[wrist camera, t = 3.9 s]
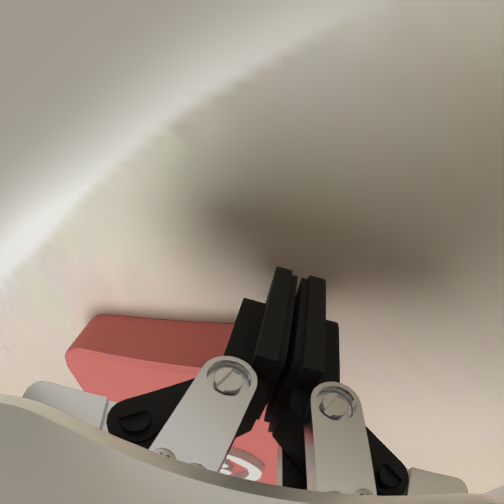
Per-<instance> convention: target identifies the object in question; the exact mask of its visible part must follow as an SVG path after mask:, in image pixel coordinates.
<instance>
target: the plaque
mask: <svg viewBox="0 0 504 504" xmlns="http://www.w3.org/2000/svg"><path fill="white" fill-rule="evenodd" d="M233 327H234V324H232V323H210V322H192V321H177V320H163V319H150V318H139V317H128V316H118V315H108V314H105V315H97V316H96V317H95V318H93V319H92V320H91V321H90V322H89V323H88V325H87V326H86V327H85V328H84V330H83V331H82V332H81V333H80V335H79V336H78V337H77V338H76V340H75V341H74V342H73V344H72V345H71V346H70V347H69V349H68V350H67V352H66V354H65V359H66V363H67V366H68V368H69V369H70V371H71V372H72V374H73V375H74V377H75V378H76V380H77V381H78V383H79V384H80V386H81V387H82V389H83V390H84V392H87V393H91V394H96V395H100V396H104V397H107V398H108V400H109V401H113V402H120V401H122V400H125V399H128V398H132V397H135V396H139V395H142V394H146V393H149V392H152V391H156V390H159V389H162V388H165V387H169V386H172V385H175V384H178V383H181V382H184V381H187V380H190V379H193V378H196V376H197V375H198V373H199V372H200V370H201V369H202V367H203V366H204V365H205V364H206V362H207V361H209V360H211V359H213V358H215V357H219V356H224V353H225V350H226V347H227V344H228V342H229V339H230V336H231V333H232V330H233ZM266 407H267V405H266ZM266 407H265V409H264V411H263V413H262V415H261V417H260V419H259V420H257V419H256V421H255V423H254V426H253V428H252V430H251V431H250V432H248V433H245V434H243V435H241V436H239V437H237V438H236V439H235V441H234V443H233V445H232V448H231V450H230V452H229V454H228V456H227V458H226V460H225V462H224V464H223V466H222V468H221V470H220V472H219V473H223V474H227V475H231V476H235V477H239V478H243V479H248V480H252V481H257V482H262V483H267V484H272V485H277V447H278V443H277V442H276V440H275V439H274V438H273V437H272V432H268V428H269V422H265V421H264V417H265V412H266Z"/></svg>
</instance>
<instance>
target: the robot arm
mask: <svg viewBox="0 0 504 504" xmlns="http://www.w3.org/2000/svg"><path fill="white" fill-rule="evenodd" d="M297 278H298V277H297V276H294V275H292V270H288V269H284V268H281V267H276V270H275V274H274V277H273V280H272V284H271V287H270V290H269V294H268V297H267V300H266V303H261V302H257V301H254V300H250V299H247V298H244V299H243V302H242V304H241V307H240V310H239V313H238V316H237V319H236V322H235V324H234V327H233V330H232V333H231V336H230V339H229V342H228V344H227V347H226V350H225V353H224V356H219V357H215V358H213V359H211V360H209V361H207V362H206V364H205V365H204V366H203V367H202V369H201V370H200V372H199V373H198V375H197V376H196V378H193V379H190V380H187V381H184V382H181V383H178V384H175V385H172V386H169V387H165V388H162V389H159V390H156V391H152V392H149V393H146V394H142V395H139V396H135V397H132V398H128V399H125V400H122V401H120V402H113V401H109V400H108V398H107V397H104V396H100V395H96V394H91V393H87V392H83V391H79V390H76V389H72V388H68V387H65V386H61V385H58V384H54V383H51V382H45V381H40V382H36V383H34V384H32V385H31V386H29V387H28V388H27V390H26V391H25V393H24V395H23V397H19V396H13V395H5V394H0V504H504V502H503V501H501V500H499V499H496V498H493V497H490V496H487V495H482V494H474V493H468V489H467V487H466V484H465V483H464V482H463V481H462V480H461V479H458V478H456V477H451V476H447V475H442V474H438V473H433V472H429V471H425V470H421V469H417V468H413V467H412V468H411V469H406V467H405V466H404V465H403V463H402V462H401V461H400V460H399V459H398V458H397V457H396V456H395V455H394V454H393V453H392V452H391V451H390V450H389V449H388V448H387V447H386V446H385V445H384V444H383V443H382V442H381V441H380V440H379V439H378V438H377V437H376V436H375V435H374V434H373V433H372V432H371V431H370V430H369V429H368V428H367V427H366V426H365V421H364V416H363V411H362V406H361V403H360V400H359V397H358V396H357V395H356V393H355V392H354V391H353V390H352V389H350V388H349V387H348V386H346V385H344V384H342V383H340V363H339V327H338V323H337V322H333V321H329V320H326V281H325V280H324V279H321V278H317V277H314V276H309V277H308V279H304V278H302V279H301V282H300V285H299V287H298V290H297V293H296V286H297ZM295 294H296V296H295ZM266 405H267V407H266ZM265 407H266V412H265V417H264V421H265V422H269V428H268V432H272V437H273V438H274V439H275V440H276V442H277V443H278V447H277V485H272V484H267V483H262V482H257V481H252V480H248V479H243V478H239V477H235V476H231V475H227V474H223V473H219V472H220V470H221V468H222V466H223V464H224V462H225V460H226V458H227V456H228V454H229V452H230V450H231V448H232V445H233V443H234V441H235V439H236V438H237V437H239V436H241V435H243V434H245V433H248V432H250V431H251V430H252V428H253V426H254V423H255V421H256V419H257V420H259V419H260V417H261V415H262V413H263V411H264V409H265Z"/></svg>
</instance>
